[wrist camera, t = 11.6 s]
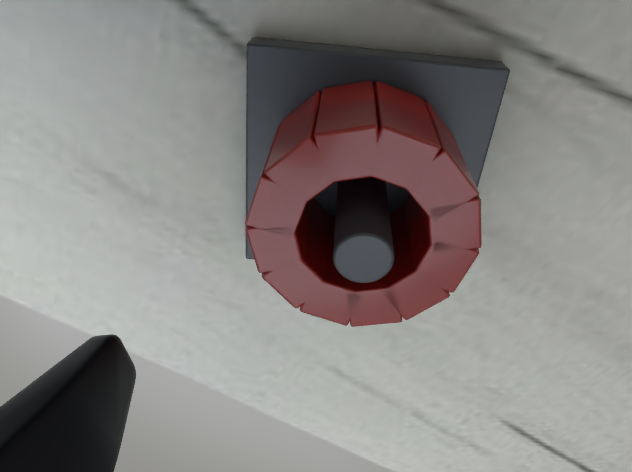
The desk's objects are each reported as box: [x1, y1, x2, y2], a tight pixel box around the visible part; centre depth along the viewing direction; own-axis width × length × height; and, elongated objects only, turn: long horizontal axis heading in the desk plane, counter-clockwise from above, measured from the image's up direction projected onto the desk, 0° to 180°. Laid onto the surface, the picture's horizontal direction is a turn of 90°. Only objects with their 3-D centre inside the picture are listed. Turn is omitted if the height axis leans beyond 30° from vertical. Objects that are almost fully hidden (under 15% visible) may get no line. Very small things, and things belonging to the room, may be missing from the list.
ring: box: [245, 81, 482, 327], centre depth 16 cm, size 7×7×4 cm
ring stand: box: [246, 37, 510, 283], centre depth 16 cm, size 8×8×6 cm
